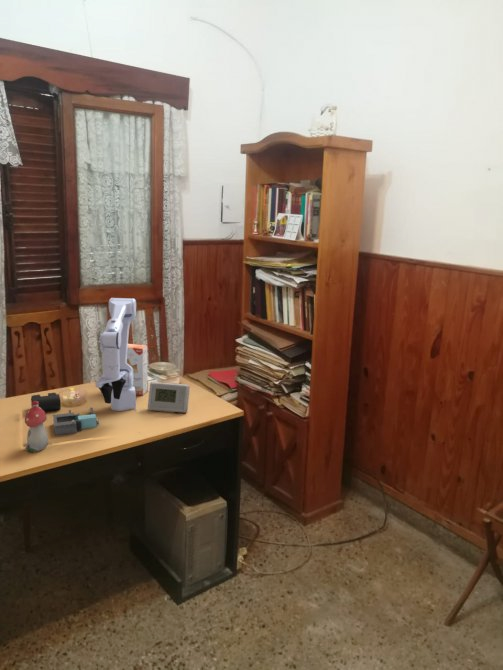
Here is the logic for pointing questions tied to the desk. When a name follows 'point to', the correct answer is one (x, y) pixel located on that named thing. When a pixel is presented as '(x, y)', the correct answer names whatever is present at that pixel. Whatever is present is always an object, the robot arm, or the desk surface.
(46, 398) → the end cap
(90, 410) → the holster
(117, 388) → the robot arm
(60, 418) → the port block
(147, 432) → the desk surface
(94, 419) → the teal rectangular block
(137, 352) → the cracker box
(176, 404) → the digital clock
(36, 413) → the decorative ornament
